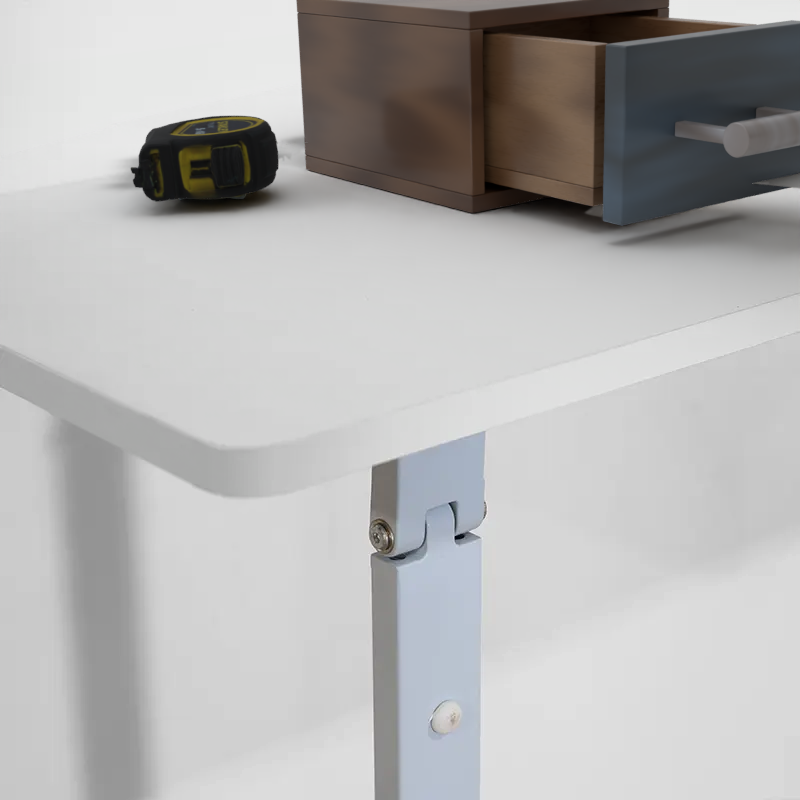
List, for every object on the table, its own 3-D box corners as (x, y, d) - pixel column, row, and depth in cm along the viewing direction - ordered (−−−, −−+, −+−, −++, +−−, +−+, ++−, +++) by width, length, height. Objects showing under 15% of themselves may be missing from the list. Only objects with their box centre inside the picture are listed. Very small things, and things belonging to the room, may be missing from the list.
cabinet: (664, 174, 72) (670, -10, 68) (472, 213, 65) (469, 11, 62) (485, 139, 83) (483, -20, 80) (305, 169, 76) (295, -4, 73)
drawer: (879, 199, 61) (895, 27, 58) (697, 244, 55) (705, 54, 52) (598, 148, 74) (600, 6, 72) (427, 179, 68) (422, 25, 66)
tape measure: (151, 188, 73) (144, 116, 72) (282, 181, 73) (277, 109, 72) (135, 218, 66) (127, 139, 65) (279, 210, 67) (274, 132, 65)
